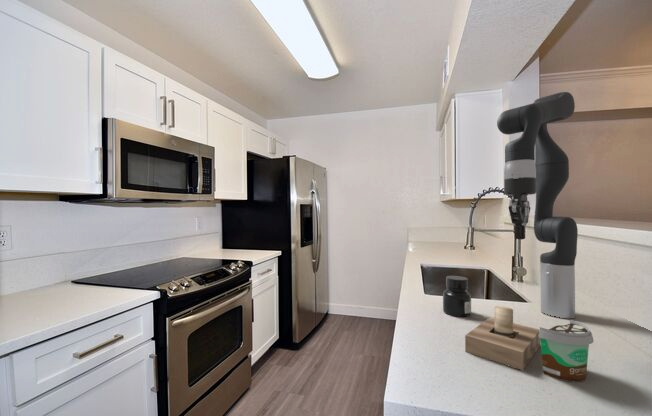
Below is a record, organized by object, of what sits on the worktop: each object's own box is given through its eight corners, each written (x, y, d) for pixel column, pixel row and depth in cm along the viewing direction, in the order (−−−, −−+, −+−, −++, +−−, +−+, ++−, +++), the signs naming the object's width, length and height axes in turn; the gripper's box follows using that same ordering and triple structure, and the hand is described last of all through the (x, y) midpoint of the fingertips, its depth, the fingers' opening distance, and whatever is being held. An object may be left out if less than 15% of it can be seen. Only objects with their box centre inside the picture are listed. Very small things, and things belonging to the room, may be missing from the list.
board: (489, 331, 83) (489, 317, 84) (540, 345, 75) (540, 329, 75) (465, 351, 71) (465, 335, 71) (522, 370, 62) (522, 352, 62)
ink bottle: (474, 319, 93) (474, 281, 94) (445, 316, 95) (445, 280, 96) (467, 309, 103) (467, 275, 103) (441, 307, 105) (441, 274, 105)
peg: (497, 343, 76) (497, 304, 76) (515, 348, 73) (515, 308, 73) (492, 348, 73) (492, 308, 73) (510, 353, 70) (510, 312, 70)
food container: (573, 391, 55) (572, 338, 56) (538, 374, 61) (538, 327, 61) (606, 377, 60) (606, 329, 60) (572, 363, 66) (571, 319, 66)
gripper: (510, 180, 89) (511, 237, 88) (497, 176, 79) (497, 239, 79) (540, 178, 83) (541, 238, 83) (530, 174, 74) (530, 241, 74)
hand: (520, 239), depth 81 cm, fingers closed
